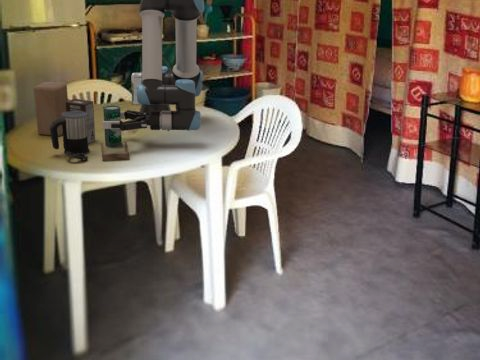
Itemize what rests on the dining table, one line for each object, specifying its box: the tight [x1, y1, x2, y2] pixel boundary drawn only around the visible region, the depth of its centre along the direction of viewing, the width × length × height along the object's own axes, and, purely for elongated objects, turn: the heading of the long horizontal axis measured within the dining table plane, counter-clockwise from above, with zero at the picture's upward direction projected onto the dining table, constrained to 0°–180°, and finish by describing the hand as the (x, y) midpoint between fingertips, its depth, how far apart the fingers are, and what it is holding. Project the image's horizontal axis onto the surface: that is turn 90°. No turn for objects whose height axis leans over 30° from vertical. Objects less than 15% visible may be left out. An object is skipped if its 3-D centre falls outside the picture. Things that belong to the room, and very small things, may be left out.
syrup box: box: [130, 72, 142, 106], centre depth 298 cm, size 6×6×14 cm
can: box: [103, 104, 123, 148], centre depth 238 cm, size 6×6×15 cm
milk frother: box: [50, 111, 90, 161], centre depth 225 cm, size 14×16×15 cm
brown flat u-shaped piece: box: [100, 141, 130, 162], centre depth 229 cm, size 10×14×2 cm
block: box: [33, 81, 69, 137], centre depth 250 cm, size 10×10×20 cm
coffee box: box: [66, 98, 96, 145], centre depth 241 cm, size 9×6×16 cm
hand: (105, 119), depth 237 cm, fingers open, 13 cm apart
